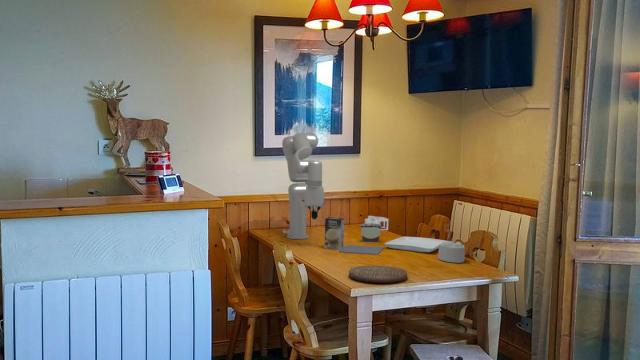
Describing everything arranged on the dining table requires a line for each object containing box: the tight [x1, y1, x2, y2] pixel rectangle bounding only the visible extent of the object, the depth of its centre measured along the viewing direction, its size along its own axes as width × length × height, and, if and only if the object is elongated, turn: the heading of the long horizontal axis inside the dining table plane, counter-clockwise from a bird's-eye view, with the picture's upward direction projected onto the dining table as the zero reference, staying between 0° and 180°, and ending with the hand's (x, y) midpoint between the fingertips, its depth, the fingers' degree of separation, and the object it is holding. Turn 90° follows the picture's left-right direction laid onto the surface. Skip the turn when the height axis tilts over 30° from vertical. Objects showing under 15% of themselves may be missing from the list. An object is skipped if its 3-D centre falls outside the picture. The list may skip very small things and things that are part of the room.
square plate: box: [384, 236, 449, 253], centre depth 333 cm, size 27×27×4 cm
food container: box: [359, 223, 383, 244], centre depth 349 cm, size 12×6×10 cm, turn 84°
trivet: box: [348, 264, 408, 284], centre depth 266 cm, size 25×25×2 cm
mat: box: [338, 244, 385, 256], centre depth 323 cm, size 20×20×1 cm
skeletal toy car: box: [364, 215, 389, 231], centre depth 398 cm, size 20×11×7 cm, turn 19°
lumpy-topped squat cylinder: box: [438, 240, 466, 264], centre depth 301 cm, size 10×13×9 cm
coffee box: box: [324, 216, 345, 251], centre depth 326 cm, size 9×6×16 cm
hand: (314, 218), depth 328 cm, fingers closed
